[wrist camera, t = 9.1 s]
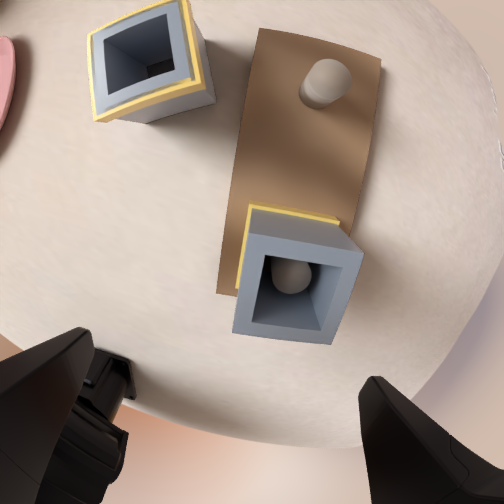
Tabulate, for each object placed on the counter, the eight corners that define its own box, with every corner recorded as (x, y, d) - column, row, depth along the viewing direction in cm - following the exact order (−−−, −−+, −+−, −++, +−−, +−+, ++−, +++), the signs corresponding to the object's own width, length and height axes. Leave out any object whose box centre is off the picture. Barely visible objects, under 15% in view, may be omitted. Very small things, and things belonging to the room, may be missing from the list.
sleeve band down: (334, 216, 17) (369, 249, 11) (314, 291, 18) (333, 347, 13) (249, 200, 16) (244, 226, 11) (236, 279, 18) (227, 335, 13)
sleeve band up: (220, 105, 15) (201, 82, 10) (142, 127, 16) (94, 121, 10) (206, 36, 13) (185, -7, 8) (132, 60, 14) (87, 34, 8)
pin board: (324, 302, 20) (339, 344, 15) (217, 286, 20) (206, 327, 15) (375, 63, 13) (409, 41, 9) (259, 33, 13) (259, -3, 9)
